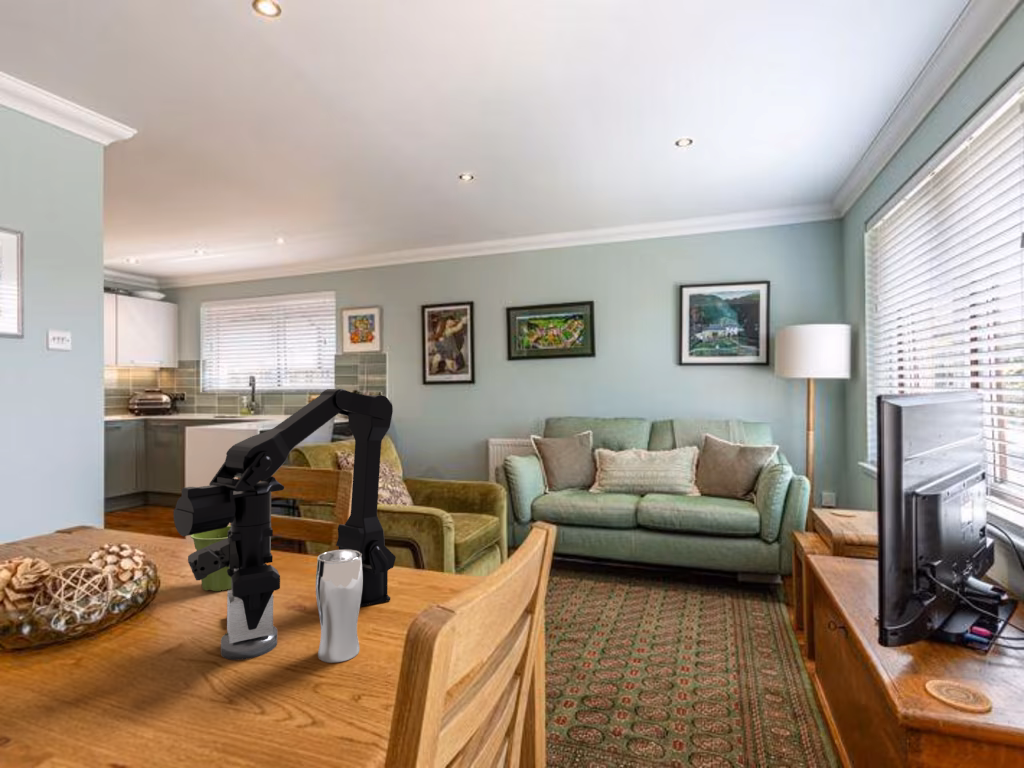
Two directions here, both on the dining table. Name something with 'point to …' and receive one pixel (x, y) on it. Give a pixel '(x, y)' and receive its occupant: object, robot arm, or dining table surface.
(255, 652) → the ratchet
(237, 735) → the dining table surface
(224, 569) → the plant pot
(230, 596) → the cube with round boss
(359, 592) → the beer glass
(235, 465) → the robot arm
